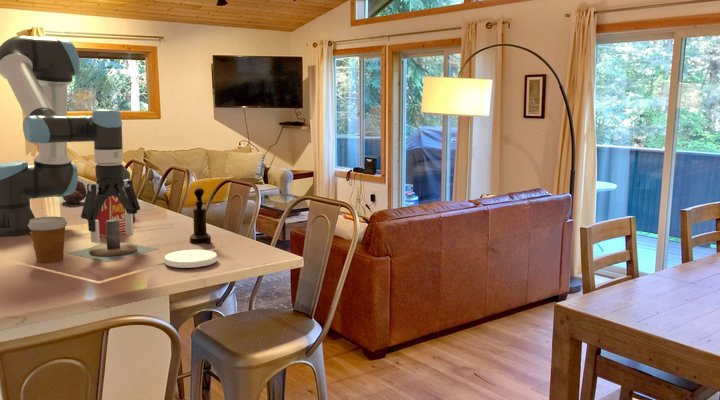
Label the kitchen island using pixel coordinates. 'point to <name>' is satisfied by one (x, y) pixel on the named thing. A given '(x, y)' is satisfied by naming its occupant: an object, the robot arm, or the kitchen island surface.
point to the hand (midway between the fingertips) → (113, 238)
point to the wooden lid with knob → (113, 243)
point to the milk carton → (111, 214)
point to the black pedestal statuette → (199, 220)
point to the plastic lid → (190, 258)
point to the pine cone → (76, 194)
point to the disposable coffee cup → (48, 238)
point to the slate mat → (111, 258)
